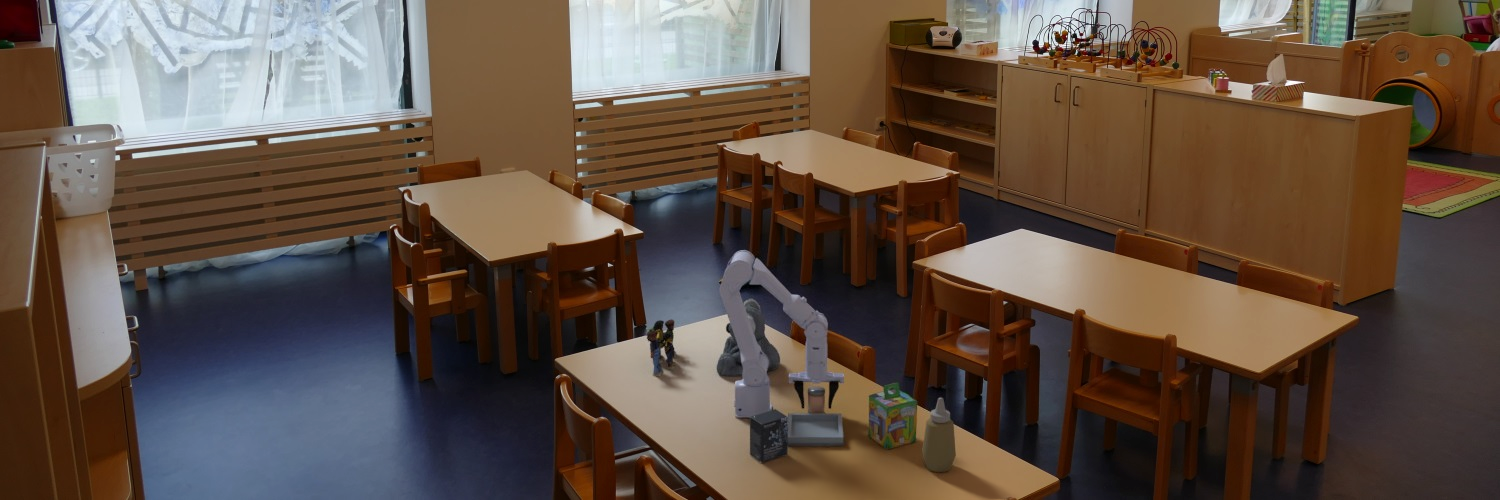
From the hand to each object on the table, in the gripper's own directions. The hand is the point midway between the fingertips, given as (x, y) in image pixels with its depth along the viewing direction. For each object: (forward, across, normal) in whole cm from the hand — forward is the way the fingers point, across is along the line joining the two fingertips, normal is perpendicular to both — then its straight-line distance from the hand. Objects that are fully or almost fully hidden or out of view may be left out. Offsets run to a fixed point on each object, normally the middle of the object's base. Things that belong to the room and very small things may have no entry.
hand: (816, 407), depth 312 cm
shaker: (+2, 0, 0) cm, 2 cm away
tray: (+2, 0, -12) cm, 12 cm away
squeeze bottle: (+2, +29, -30) cm, 42 cm away
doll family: (+2, -45, +34) cm, 56 cm away
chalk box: (+2, +19, -15) cm, 24 cm away
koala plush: (+2, -19, +32) cm, 37 cm away
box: (+2, -12, -24) cm, 27 cm away
